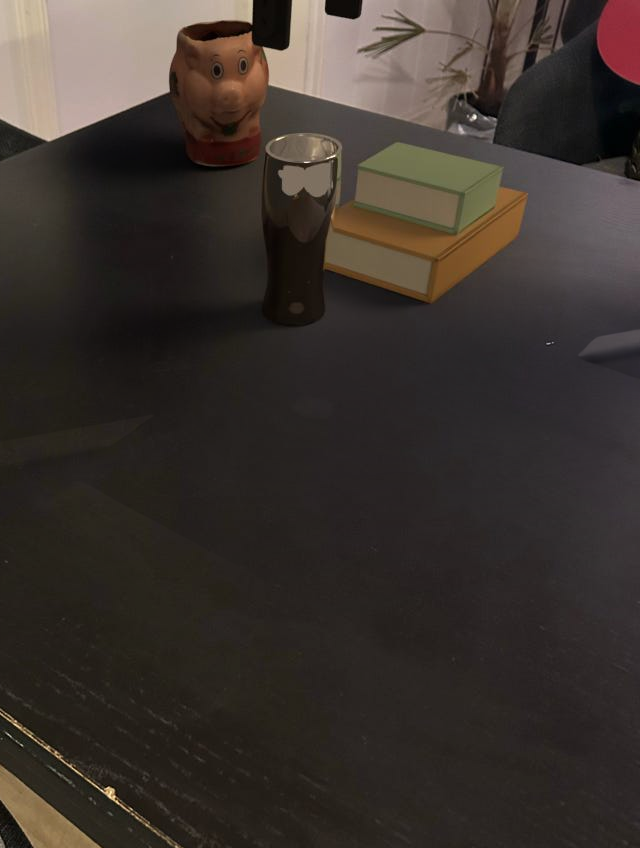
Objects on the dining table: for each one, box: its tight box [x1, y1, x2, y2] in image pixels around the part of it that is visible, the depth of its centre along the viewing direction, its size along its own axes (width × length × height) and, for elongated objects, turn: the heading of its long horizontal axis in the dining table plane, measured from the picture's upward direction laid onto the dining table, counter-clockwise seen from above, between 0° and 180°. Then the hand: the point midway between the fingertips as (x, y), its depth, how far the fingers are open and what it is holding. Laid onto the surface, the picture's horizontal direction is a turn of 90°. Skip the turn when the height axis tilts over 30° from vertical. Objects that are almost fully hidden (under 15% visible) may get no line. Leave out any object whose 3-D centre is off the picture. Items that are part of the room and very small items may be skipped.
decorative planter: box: [168, 19, 270, 167], centre depth 112 cm, size 20×12×14 cm, turn 13°
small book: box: [353, 141, 504, 235], centre depth 91 cm, size 12×8×4 cm, turn 49°
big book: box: [324, 185, 529, 304], centre depth 94 cm, size 14×18×4 cm
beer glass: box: [260, 132, 343, 327], centre depth 83 cm, size 7×7×15 cm
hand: (307, 31), depth 71 cm, fingers open, 9 cm apart
